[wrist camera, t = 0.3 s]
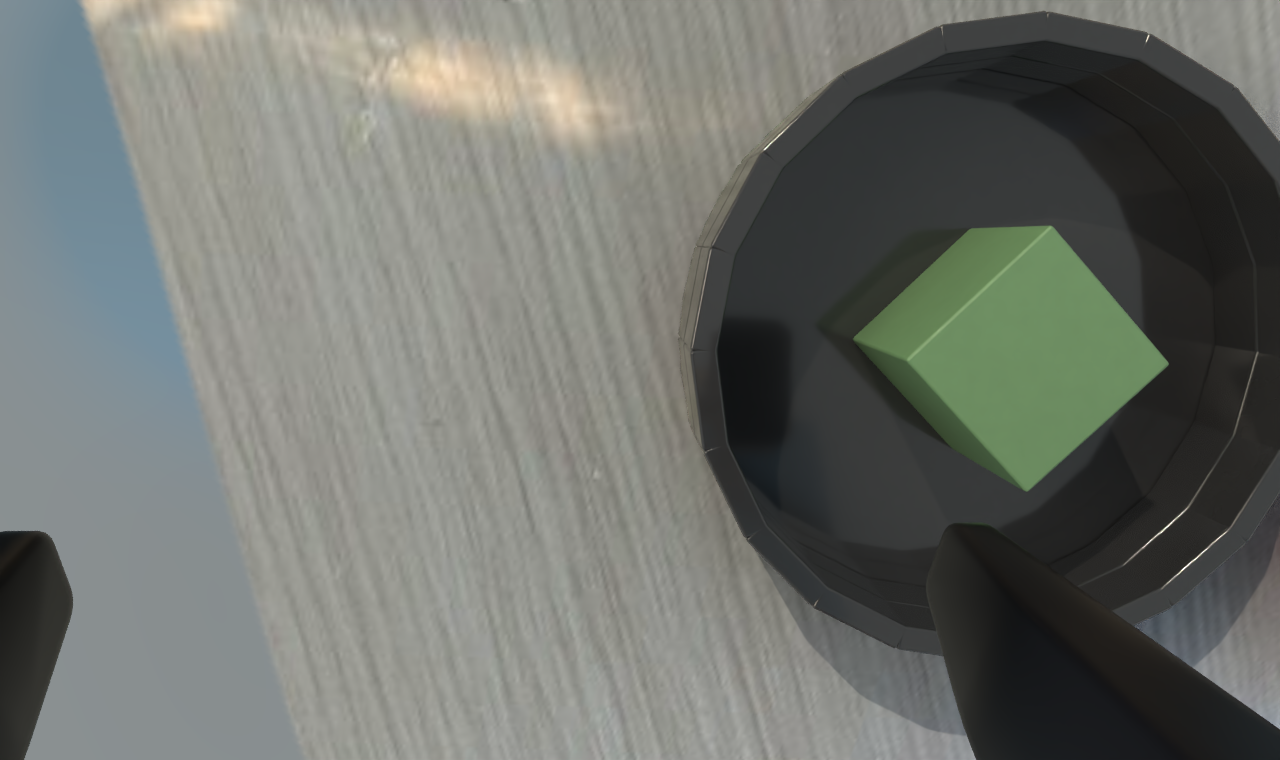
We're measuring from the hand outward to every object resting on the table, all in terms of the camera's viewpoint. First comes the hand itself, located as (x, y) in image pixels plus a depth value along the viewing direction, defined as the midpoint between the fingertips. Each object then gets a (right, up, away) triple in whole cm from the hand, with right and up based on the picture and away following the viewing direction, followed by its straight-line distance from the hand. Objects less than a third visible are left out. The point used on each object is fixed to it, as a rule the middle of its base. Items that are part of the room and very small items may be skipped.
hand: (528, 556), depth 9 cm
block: (+9, +3, +13) cm, 16 cm away
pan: (+9, +3, +14) cm, 17 cm away
